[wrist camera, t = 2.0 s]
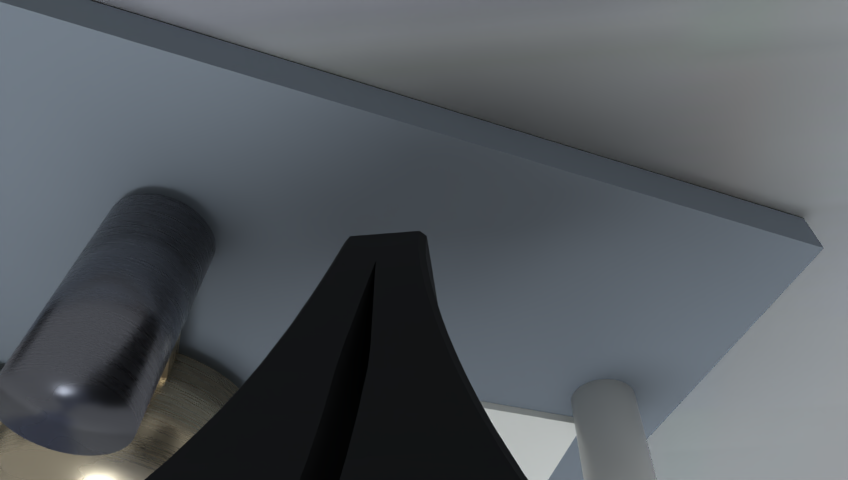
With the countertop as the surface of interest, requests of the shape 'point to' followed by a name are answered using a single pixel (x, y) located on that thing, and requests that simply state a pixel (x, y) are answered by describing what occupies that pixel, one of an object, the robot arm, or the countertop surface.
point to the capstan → (114, 354)
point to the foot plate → (370, 212)
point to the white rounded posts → (580, 434)
